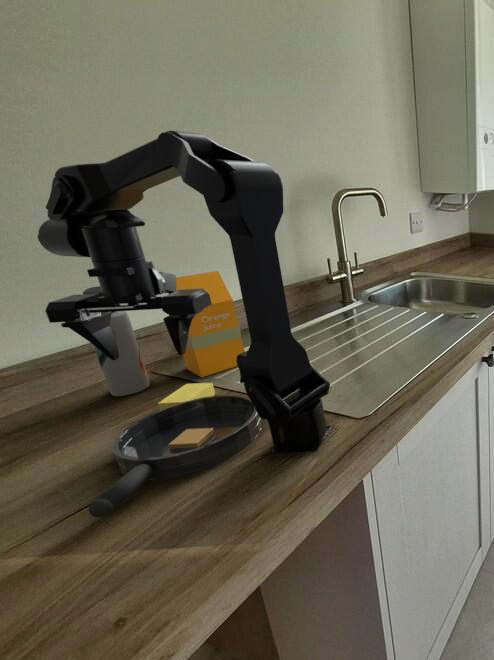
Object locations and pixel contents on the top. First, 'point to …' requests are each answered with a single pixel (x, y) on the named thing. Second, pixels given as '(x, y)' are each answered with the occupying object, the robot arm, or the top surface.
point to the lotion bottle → (122, 356)
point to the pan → (167, 424)
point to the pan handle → (120, 491)
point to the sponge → (188, 394)
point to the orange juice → (212, 327)
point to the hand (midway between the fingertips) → (149, 356)
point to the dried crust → (191, 438)
